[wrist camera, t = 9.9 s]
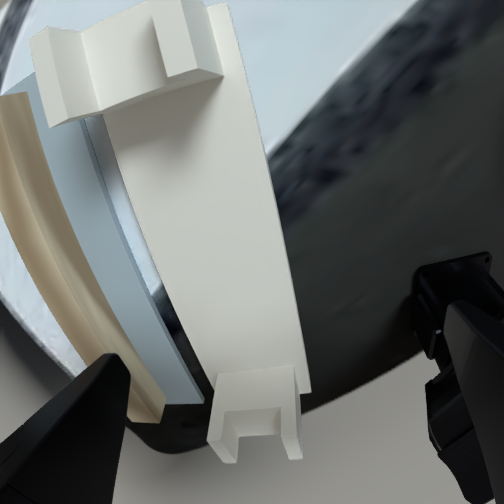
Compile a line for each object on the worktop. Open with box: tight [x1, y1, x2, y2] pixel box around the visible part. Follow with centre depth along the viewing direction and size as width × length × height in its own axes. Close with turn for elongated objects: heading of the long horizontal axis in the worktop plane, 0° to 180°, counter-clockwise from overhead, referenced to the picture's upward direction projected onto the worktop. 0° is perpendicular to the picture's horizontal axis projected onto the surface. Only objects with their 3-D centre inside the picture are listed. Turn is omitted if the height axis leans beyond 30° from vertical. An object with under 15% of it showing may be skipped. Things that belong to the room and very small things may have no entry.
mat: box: [2, 72, 205, 404], centre depth 22 cm, size 10×30×1 cm, turn 13°
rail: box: [0, 91, 167, 423], centre depth 20 cm, size 3×28×3 cm, turn 13°
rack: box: [29, 0, 311, 463], centre depth 17 cm, size 8×28×8 cm, turn 13°
